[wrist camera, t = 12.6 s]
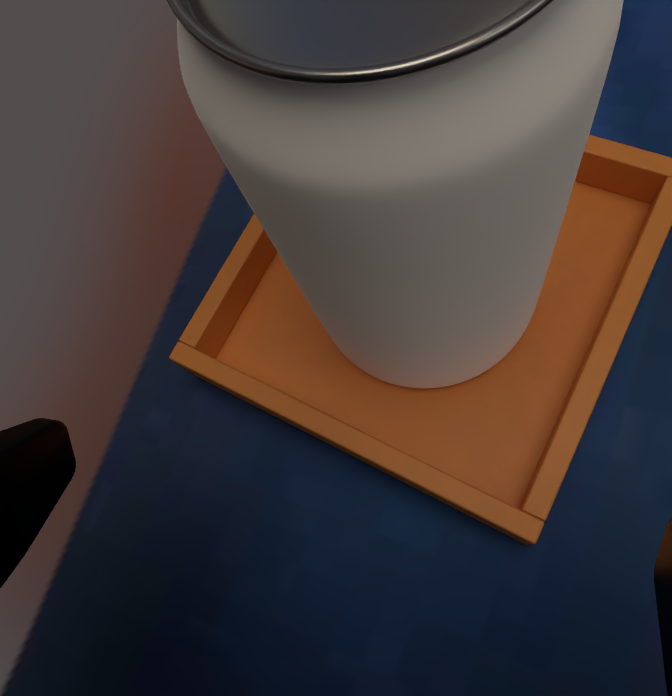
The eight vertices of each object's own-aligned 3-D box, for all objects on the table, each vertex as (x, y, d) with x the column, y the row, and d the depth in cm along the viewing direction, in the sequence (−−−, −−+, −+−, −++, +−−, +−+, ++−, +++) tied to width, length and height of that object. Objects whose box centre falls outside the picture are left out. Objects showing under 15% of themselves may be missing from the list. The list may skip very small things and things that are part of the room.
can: (526, 407, 17) (660, 115, 5) (304, 379, 18) (56, 106, 7) (543, 203, 18) (671, -326, 7) (341, 194, 20) (191, -257, 9)
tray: (526, 546, 16) (535, 545, 14) (195, 375, 19) (167, 357, 18) (673, 203, 18) (697, 164, 16) (351, 105, 22) (341, 64, 20)
